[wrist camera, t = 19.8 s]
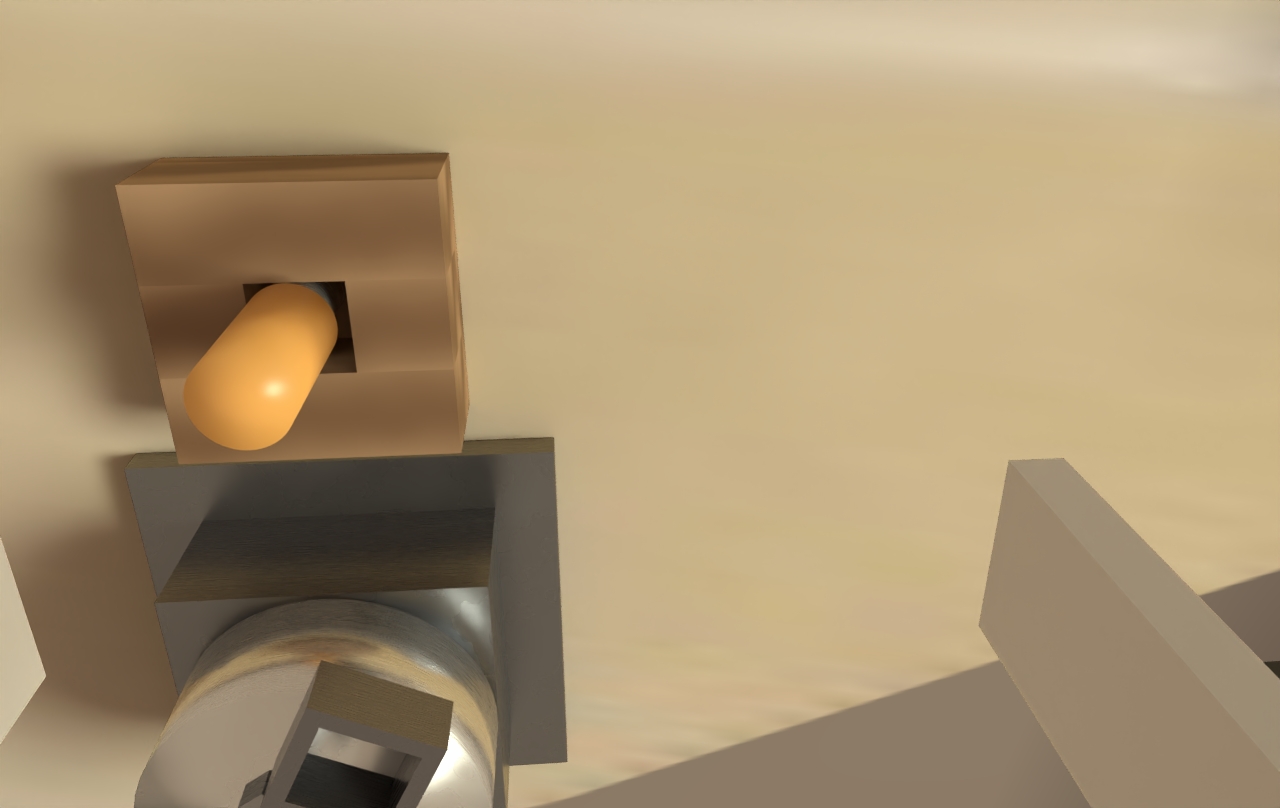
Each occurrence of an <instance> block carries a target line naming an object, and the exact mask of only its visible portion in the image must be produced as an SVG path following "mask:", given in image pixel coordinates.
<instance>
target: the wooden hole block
mask: <svg viewBox="0 0 1280 808" xmlns="http://www.w3.org/2000/svg"><path fill="white" fill-rule="evenodd" d="M115 188H116V192H117V196H118V201H119V205H120V209H121V214H122V218H123V222H124V227H125V231H126V236H127V240H128V244H129V249H130V253H131V257H132V262H133V266H134V271H135V275H136V279H137V284H138V288H139V292H140V297H141V301H142V305H143V310H144V314H145V319H146V323H147V327H148V332H149V336H150V340H151V345H152V349H153V354H154V358H155V362H156V367H157V371H158V375H159V380H160V384H161V388H162V393H163V397H164V402H165V406H166V410H167V415H168V419H169V423H170V428H171V432H172V437H173V441H174V445H175V450H176V454H177V458H178V463H179V464H198V463H223V462H249V461H274V460H300V459H325V458H351V457H376V456H402V455H427V454H453V453H461V452H462V446H463V440H464V434H465V428H466V422H467V416H468V410H469V392H468V380H467V368H466V356H465V344H464V332H463V319H462V307H461V295H460V283H459V271H458V259H457V247H456V234H455V222H454V210H453V198H452V186H451V174H450V161H449V153H428V154H368V155H309V156H249V157H190V158H161V159H159V160H157V161H156V162H154V163H152V164H150V165H149V166H147V167H145V168H144V169H142V170H140V171H139V172H137V173H135V174H133V175H132V176H130V177H128V178H127V179H125V180H123V181H121V182H120V183H118V184H116V185H115ZM329 281H345V286H346V295H345V298H344V300H343V301H342V303H341V305H340V306H339V308H338V310H337V312H336V313H335V318H336V321H337V327H338V335H337V340H336V343H335V346H334V348H333V350H332V351H331V353H330V355H329V357H328V359H327V361H326V363H325V364H324V366H323V368H322V370H321V372H320V374H319V376H318V377H317V379H316V381H315V383H314V385H313V387H312V389H311V390H310V392H309V394H308V396H307V398H306V400H305V402H304V403H303V405H302V407H301V409H300V411H299V413H298V415H297V416H296V418H295V420H294V422H293V424H292V426H291V428H290V429H289V431H288V432H287V433H286V435H285V436H284V437H283V438H282V439H280V440H279V441H278V442H276V443H274V444H272V445H271V446H268V447H265V448H262V449H258V450H236V449H232V448H228V447H225V446H222V445H220V444H217V443H215V442H214V441H212V440H210V439H209V438H207V437H206V436H205V435H203V434H202V433H201V432H200V431H199V430H198V429H197V428H196V427H195V425H194V424H193V423H192V421H191V420H190V418H189V416H188V414H187V412H186V409H185V405H184V400H183V391H184V385H185V382H186V379H187V377H188V375H189V374H190V372H191V371H192V369H193V368H194V367H195V366H196V365H197V363H198V362H199V361H200V360H201V359H202V357H203V356H204V355H205V354H206V353H207V351H208V350H209V349H210V348H211V347H212V345H213V344H214V343H215V342H216V341H217V339H218V338H219V337H220V336H221V335H222V333H223V332H224V331H225V330H226V328H227V327H228V326H229V325H230V324H231V322H232V321H233V320H234V319H235V318H236V316H237V315H238V314H239V313H240V312H241V310H242V309H243V308H244V307H245V306H246V304H247V303H248V302H249V301H250V300H251V298H252V297H253V296H254V295H255V294H256V293H257V292H259V291H260V290H262V289H263V288H265V287H268V286H270V285H274V284H280V283H290V282H329Z"/></svg>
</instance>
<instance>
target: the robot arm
mask: <svg viewBox="0 0 1280 808" xmlns="http://www.w3.org/2000/svg"><path fill="white" fill-rule="evenodd" d="M979 627H980V628H981V630H982V632H983V633H984V635H985V637H986V638H987V640H988V641H989V643H990V645H991V646H992V648H993V649H994V651H995V653H996V654H997V656H998V658H999V659H1000V661H1001V662H1002V664H1003V666H1004V667H1005V669H1006V670H1007V672H1008V674H1009V675H1010V677H1011V679H1012V680H1013V682H1014V683H1015V685H1016V687H1017V688H1018V690H1019V691H1020V693H1021V695H1022V696H1023V698H1024V699H1025V701H1026V703H1027V704H1028V706H1029V708H1030V709H1031V711H1032V712H1033V714H1034V716H1035V717H1036V719H1037V720H1038V722H1039V724H1040V725H1041V727H1042V729H1043V730H1044V731H1045V733H1046V735H1047V736H1048V738H1049V740H1050V741H1051V743H1052V745H1053V746H1054V748H1055V749H1056V751H1057V753H1058V754H1059V756H1060V758H1061V759H1062V761H1063V762H1064V764H1065V765H1066V767H1067V769H1068V770H1069V772H1070V774H1071V775H1072V777H1073V779H1074V780H1075V782H1076V783H1077V785H1078V787H1079V788H1080V790H1081V792H1082V793H1083V795H1084V796H1085V798H1086V799H1087V801H1088V803H1089V804H1090V806H1091V808H1280V661H1274V662H1262V661H1261V660H1260V659H1259V658H1258V656H1256V655H1255V653H1253V651H1252V650H1251V649H1250V648H1249V647H1248V646H1247V645H1246V644H1245V643H1244V642H1243V641H1242V640H1241V639H1240V638H1239V637H1238V636H1237V635H1236V634H1235V633H1234V632H1233V631H1232V630H1231V629H1230V628H1229V627H1228V626H1227V625H1226V624H1225V623H1224V622H1223V621H1222V620H1221V619H1220V618H1219V617H1218V616H1217V615H1216V614H1215V612H1214V611H1213V610H1212V609H1210V607H1209V606H1208V605H1207V604H1206V603H1205V602H1204V601H1203V600H1202V599H1201V598H1200V597H1199V596H1198V595H1197V594H1196V593H1195V592H1194V591H1193V590H1192V589H1191V588H1190V587H1189V586H1188V585H1187V584H1186V583H1185V582H1184V581H1183V580H1182V579H1181V578H1180V577H1179V576H1178V575H1177V574H1176V573H1175V572H1174V571H1173V570H1172V568H1171V567H1170V566H1169V565H1168V564H1167V563H1166V562H1165V561H1164V560H1163V559H1162V558H1161V557H1160V556H1159V555H1158V554H1157V553H1156V552H1155V551H1154V550H1153V549H1152V548H1151V547H1150V546H1149V545H1148V544H1147V543H1146V542H1145V541H1144V540H1143V539H1142V538H1141V537H1140V536H1139V535H1138V534H1137V533H1136V532H1135V531H1134V530H1133V529H1132V528H1131V527H1130V526H1129V524H1128V523H1127V522H1126V521H1125V520H1124V519H1123V518H1122V517H1121V516H1120V515H1119V514H1118V513H1117V512H1116V511H1115V510H1114V509H1113V508H1112V507H1111V506H1110V505H1109V504H1108V503H1107V502H1106V501H1105V500H1104V499H1103V498H1102V497H1101V496H1100V495H1099V494H1098V493H1097V492H1096V491H1095V490H1094V489H1093V488H1092V487H1091V486H1090V485H1089V484H1088V483H1087V482H1086V480H1085V479H1084V478H1083V477H1082V476H1081V475H1080V474H1079V473H1078V472H1077V471H1076V470H1075V469H1074V468H1073V467H1072V466H1071V465H1070V464H1069V463H1068V462H1067V461H1066V460H1065V459H1064V458H1055V459H1031V460H1009V462H1008V467H1007V473H1006V478H1005V484H1004V489H1003V495H1002V500H1001V506H1000V511H999V517H998V522H997V528H996V533H995V539H994V544H993V550H992V555H991V561H990V566H989V572H988V577H987V583H986V588H985V594H984V599H983V604H982V610H981V615H980V621H979ZM45 677H46V674H45V671H44V668H43V665H42V661H41V658H40V655H39V652H38V649H37V646H36V643H35V640H34V637H33V634H32V631H31V628H30V625H29V622H28V619H27V616H26V613H25V610H24V607H23V604H22V601H21V598H20V595H19V592H18V589H17V586H16V583H15V579H14V576H13V573H12V570H11V567H10V564H9V561H8V558H7V555H6V552H5V549H4V546H3V543H2V540H1V537H0V744H1V743H2V741H3V740H4V738H5V737H6V735H7V734H8V732H9V731H10V729H11V728H12V726H13V725H14V723H15V722H16V720H17V719H18V717H19V716H20V714H21V713H22V711H23V710H24V708H25V707H26V705H27V704H28V703H29V701H30V700H31V698H32V697H33V695H34V694H35V692H36V691H37V689H38V688H39V686H40V685H41V683H42V682H43V680H44V679H45Z"/></svg>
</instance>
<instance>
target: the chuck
mask: <svg viewBox="0 0 1280 808" xmlns="http://www.w3.org/2000/svg"><path fill="white" fill-rule="evenodd" d="M497 733H498V716H497V707H496V703H495V699H494V694H493V692H492V689H491V687H490V685H489V682H488V680H487V678H486V676H485V675H484V673H483V672H482V670H481V668H480V667H479V665H478V664H477V663H476V661H475V660H474V659H473V658H472V657H471V655H470V654H469V653H468V652H467V651H466V650H465V649H464V648H463V647H462V646H461V645H460V644H458V643H457V642H456V641H455V640H454V639H453V638H452V637H450V636H449V635H447V634H446V633H444V632H443V631H442V630H440V629H439V628H437V627H436V626H434V625H432V624H430V623H428V622H426V621H424V620H422V619H421V618H419V617H416V616H414V615H411V614H409V613H406V612H404V611H401V610H399V609H395V608H391V607H388V606H384V605H381V604H376V603H370V602H364V601H358V600H346V599H318V600H307V601H301V602H294V603H289V604H285V605H281V606H278V607H274V608H270V609H268V610H265V611H263V612H260V613H258V614H255V615H253V616H250V617H249V618H247V619H245V620H243V621H241V622H239V623H238V624H236V625H234V626H233V627H231V628H230V629H229V630H227V631H226V632H225V633H223V634H222V635H220V636H219V637H218V638H217V639H216V640H215V641H214V642H213V643H212V644H211V645H210V646H209V647H208V648H207V649H206V650H205V651H204V653H203V654H202V655H201V657H200V658H199V660H198V661H197V662H196V664H195V666H194V668H193V670H192V672H191V674H190V676H189V678H188V680H187V682H186V684H185V686H184V688H183V690H182V692H181V694H180V696H179V698H178V700H177V703H176V705H175V707H174V709H173V711H172V713H171V715H170V717H169V719H168V721H167V723H166V725H165V727H164V730H163V732H162V734H161V736H160V738H159V740H158V742H157V744H156V746H155V748H154V750H153V752H152V754H151V757H150V759H149V761H148V763H147V765H146V767H145V769H144V771H143V773H142V775H141V777H140V780H139V783H138V787H137V790H136V794H135V802H134V808H493V796H494V780H495V764H496V749H497Z"/></svg>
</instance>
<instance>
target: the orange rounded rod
mask: <svg viewBox="0 0 1280 808" xmlns="http://www.w3.org/2000/svg"><path fill="white" fill-rule="evenodd" d="M345 295H346V286H345V281H329V282H290V283H280V284H274V285H270V286H268V287H265V288H263V289H262V290H260V291H259V292H257V293H256V294H255V295H254V296H253V297H252V298H251V300H250V301H249V302H248V303H247V304H246V306H245V307H244V308H243V309H242V310H241V312H240V313H239V314H238V315H237V316H236V318H235V319H234V320H233V321H232V322H231V324H230V325H229V326H228V327H227V328H226V330H225V331H224V332H223V333H222V335H221V336H220V337H219V338H218V339H217V341H216V342H215V343H214V344H213V345H212V347H211V348H210V349H209V350H208V351H207V353H206V354H205V355H204V356H203V357H202V359H201V360H200V361H199V362H198V363H197V365H196V366H195V367H194V368H193V369H192V371H191V372H190V374H189V375H188V377H187V379H186V382H185V385H184V391H183V400H184V405H185V409H186V412H187V414H188V416H189V418H190V420H191V421H192V423H193V424H194V425H195V427H196V428H197V429H198V430H199V431H200V432H201V433H202V434H203V435H205V436H206V437H207V438H209V439H210V440H212V441H214V442H215V443H217V444H220V445H222V446H225V447H228V448H232V449H236V450H258V449H262V448H265V447H268V446H271V445H272V444H274V443H276V442H278V441H279V440H280V439H282V438H283V437H284V436H285V435H286V433H287V432H288V431H289V429H290V428H291V426H292V424H293V422H294V420H295V418H296V416H297V415H298V413H299V411H300V409H301V407H302V405H303V403H304V402H305V400H306V398H307V396H308V394H309V392H310V390H311V389H312V387H313V385H314V383H315V381H316V379H317V377H318V376H319V374H320V372H321V370H322V368H323V366H324V364H325V363H326V361H327V359H328V357H329V355H330V353H331V351H332V350H333V348H334V346H335V343H336V340H337V335H338V327H337V321H336V318H335V313H336V312H337V310H338V308H339V306H340V305H341V303H342V301H343V300H344V298H345Z"/></svg>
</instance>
